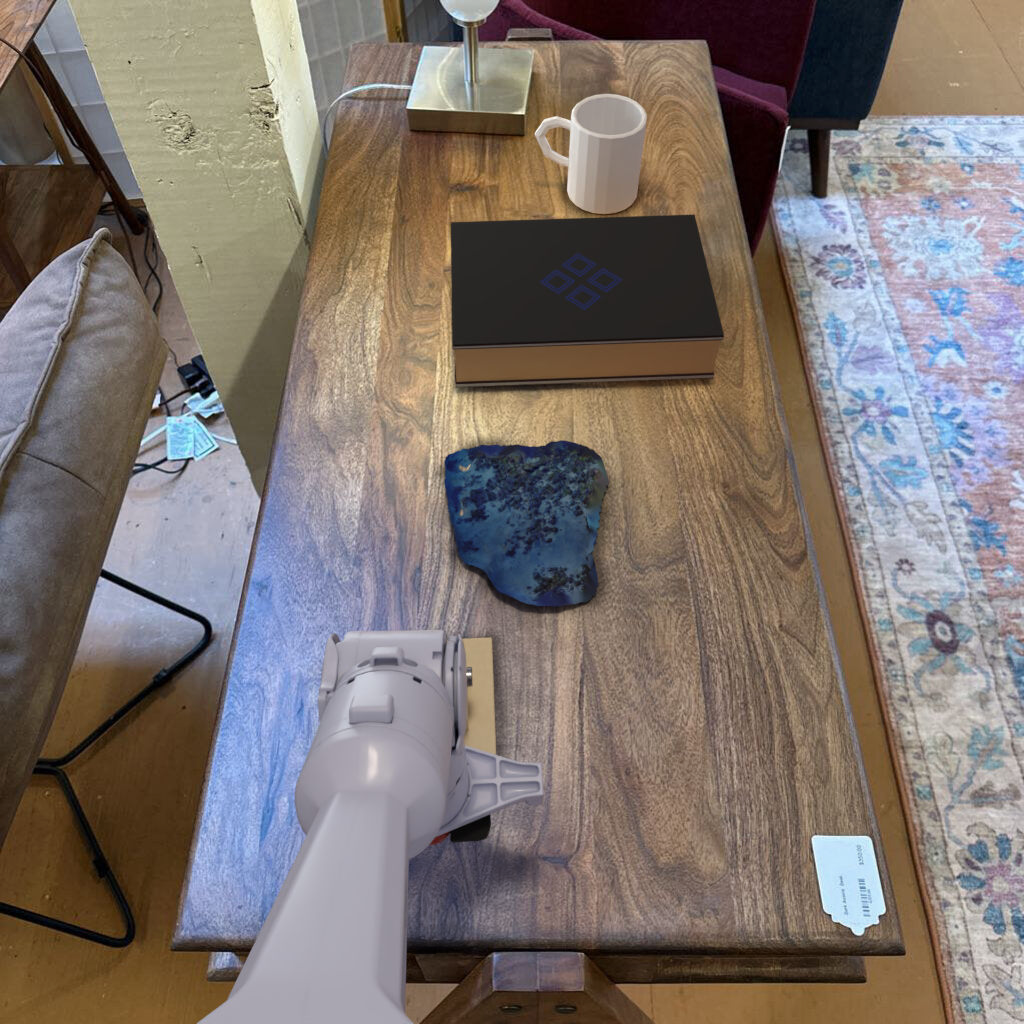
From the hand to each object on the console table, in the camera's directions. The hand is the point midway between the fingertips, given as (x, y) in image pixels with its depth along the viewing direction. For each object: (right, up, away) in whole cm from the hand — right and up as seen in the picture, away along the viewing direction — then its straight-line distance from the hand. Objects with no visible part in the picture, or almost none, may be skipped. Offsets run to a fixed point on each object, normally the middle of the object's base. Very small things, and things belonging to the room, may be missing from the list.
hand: (432, 828), depth 62 cm
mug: (+14, +59, +45) cm, 75 cm away
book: (+12, +40, +33) cm, 53 cm away
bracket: (-1, +6, +9) cm, 11 cm away
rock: (+7, +20, +19) cm, 28 cm away
